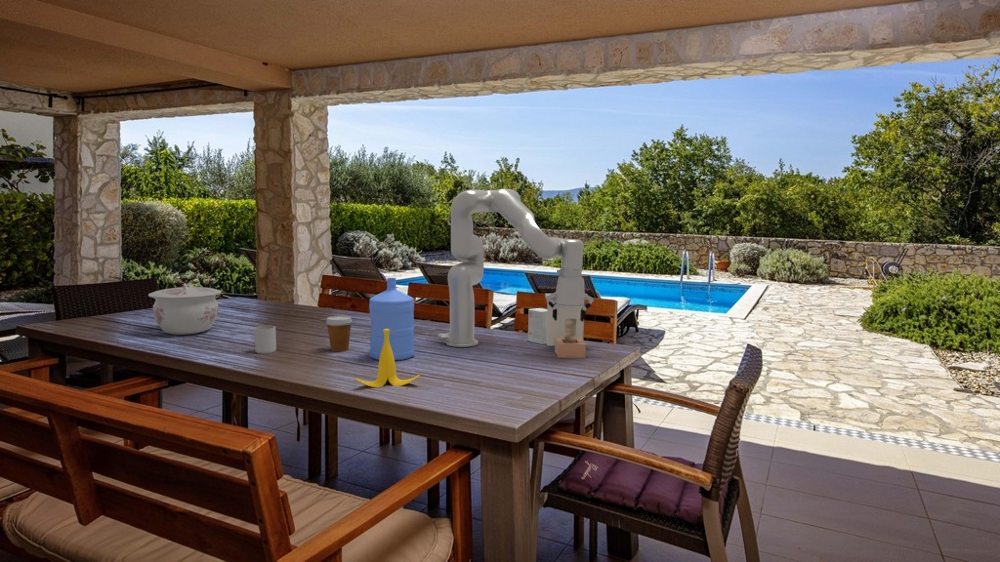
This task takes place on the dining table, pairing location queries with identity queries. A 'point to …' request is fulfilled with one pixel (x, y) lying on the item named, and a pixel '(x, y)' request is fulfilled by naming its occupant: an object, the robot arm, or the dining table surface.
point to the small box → (537, 325)
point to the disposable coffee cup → (339, 332)
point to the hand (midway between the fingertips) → (568, 320)
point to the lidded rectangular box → (562, 321)
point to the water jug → (392, 322)
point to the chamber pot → (185, 309)
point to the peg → (570, 330)
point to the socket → (570, 348)
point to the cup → (265, 339)
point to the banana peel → (386, 367)
